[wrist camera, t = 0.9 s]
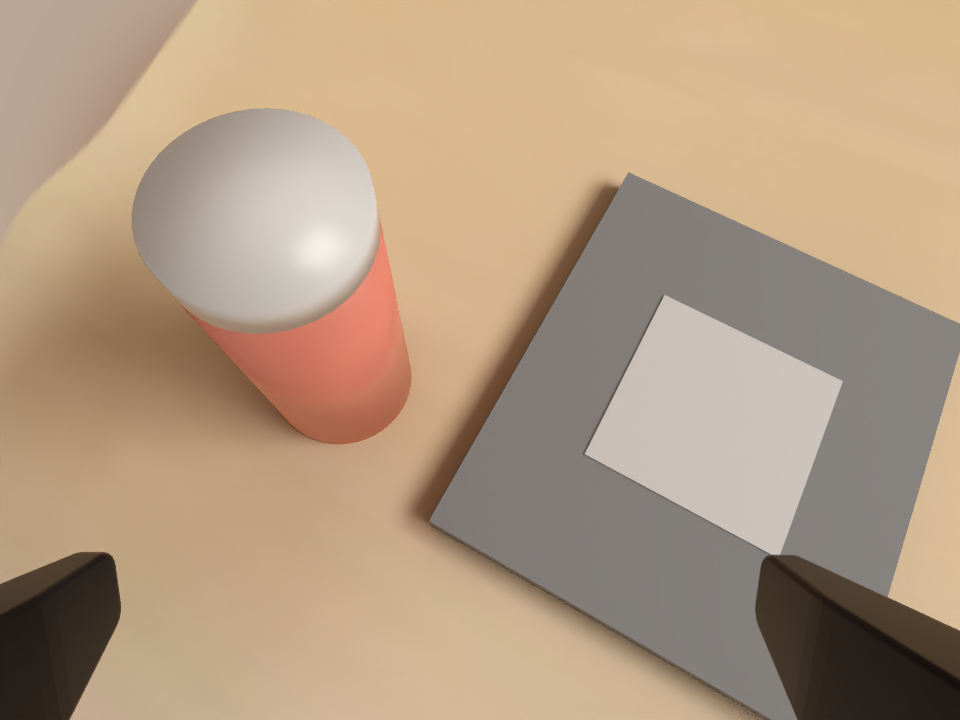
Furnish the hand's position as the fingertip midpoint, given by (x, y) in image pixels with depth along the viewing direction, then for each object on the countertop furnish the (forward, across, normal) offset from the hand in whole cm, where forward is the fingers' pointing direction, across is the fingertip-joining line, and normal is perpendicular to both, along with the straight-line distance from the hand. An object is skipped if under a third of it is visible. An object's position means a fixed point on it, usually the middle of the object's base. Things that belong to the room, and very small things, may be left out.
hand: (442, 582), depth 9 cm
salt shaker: (+15, +4, +1) cm, 16 cm away
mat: (+14, -9, +3) cm, 17 cm away
